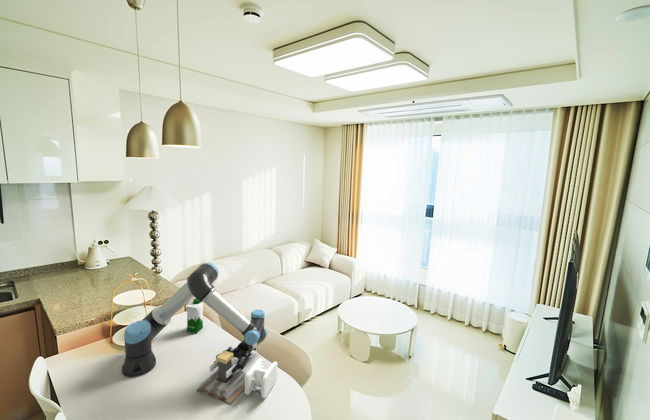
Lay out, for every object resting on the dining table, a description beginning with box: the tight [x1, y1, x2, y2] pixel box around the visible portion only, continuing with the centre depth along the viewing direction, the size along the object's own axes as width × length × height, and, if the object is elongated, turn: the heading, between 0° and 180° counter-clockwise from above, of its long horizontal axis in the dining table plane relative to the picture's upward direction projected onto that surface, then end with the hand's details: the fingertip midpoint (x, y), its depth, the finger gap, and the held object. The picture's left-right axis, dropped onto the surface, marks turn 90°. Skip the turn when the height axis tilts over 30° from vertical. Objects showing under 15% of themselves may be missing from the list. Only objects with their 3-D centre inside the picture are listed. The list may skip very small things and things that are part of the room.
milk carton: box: [185, 298, 204, 334], centre depth 190 cm, size 9×9×20 cm
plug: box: [215, 349, 234, 383], centre depth 144 cm, size 6×6×16 cm
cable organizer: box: [244, 357, 278, 399], centre depth 144 cm, size 15×11×12 cm
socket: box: [196, 369, 246, 405], centre depth 145 cm, size 20×16×5 cm
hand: (218, 372), depth 139 cm, fingers open, 9 cm apart
